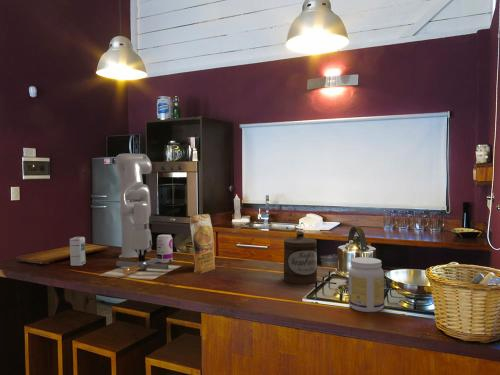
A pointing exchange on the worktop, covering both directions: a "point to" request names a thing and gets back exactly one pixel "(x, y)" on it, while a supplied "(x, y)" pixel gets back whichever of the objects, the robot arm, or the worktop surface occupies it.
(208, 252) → the pancake mix bag
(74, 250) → the syrup box
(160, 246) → the supplement can
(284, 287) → the worktop surface
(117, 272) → the striped dish towel
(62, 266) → the worktop surface
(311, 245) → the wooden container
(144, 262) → the capstan
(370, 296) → the supplement tub
